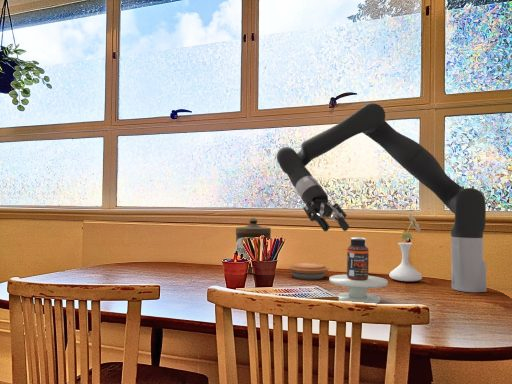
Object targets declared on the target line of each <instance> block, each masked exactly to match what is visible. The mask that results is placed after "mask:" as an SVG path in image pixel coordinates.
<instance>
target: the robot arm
mask: <svg viewBox="0 0 512 384" xmlns="http://www.w3.org/2000/svg"><path fill="white" fill-rule="evenodd" d="M359 134H363V135H365V136H367V137H368V138H369V139H371V140H372V141H374V143H376V144H378V145H379V146H380V147H382V149H384V150H385V152H386V153H387V154H388V155H390V156H391V158H392V159H394V160H395V162H396V163H398V164H399V165H400V166H401V167H402V168H403V169H404V170H406V171H407V172H408V173H409V174H410V175H411V176H412V177H414V178H415V179H416V180H418V181H419V182H420V183H421V184H423V186H425V187H426V188H428V189H429V190H430V191H431V192H433V193H434V194H435V195H436V196H437V198H438V199H439V200H440V201H441V202H442V203H443V204H444V205H445V206H446V208H448V210H449V211H450V212H452V213H453V214H454V224H453V226H452V227H451V228H450V229H451V230H450V249H451V250H450V251H451V254H450V255H451V256H450V257H451V259H450V261H451V263H450V265H451V266H450V267H451V289H452V290H455V291H458V292H459V291H460V292H466V293H487V263H486V261H484V231H485V229H486V212H487V209H486V208H487V207H486V206H487V205H486V199H485V196H484V194H483V193H482V192H481V190H478V189H476V188H473V187H467V188H465V187H462V186H461V185H460V184H458V183H457V182H455V181H454V180H453V179H452V178H451V177H449V175H448V174H447V173H446V172H445V170H444V169H443V167H442V166H441V164H440V162H439V161H438V160H437V159H436V157H435V156H434V155H433V154H431V152H429V151H428V149H426V148H425V147H423V145H422V144H420V143H418V141H415V140H414V139H411V138H409V137H407V136H406V135H403V133H400V132H399V131H397V130H396V129H395V128H393V127H392V126H391V125H390V124H389V123H388V122H387V121H386V111H385V109H384V108H383V107H382V106H381V105H379V104H378V103H367V104H364V106H362V107H361V108H359V109H358V110H357V111H355V112H354V113H353V114H351V115H350V116H349V117H347V118H346V119H344V120H342V121H341V122H339V123H337V124H336V125H334V126H332V127H330V128H328V129H326V130H324V131H322V132H320V133H318V134H316V135H314V136H312V137H310V138H308V139H306V140H304V141H303V142H301V145H300V150H299V151H298V152H297V151H295V150H294V149H293V148H292V147H290V146H283V147H280V148H279V150H277V152H276V161H277V163H278V165H279V167H280V169H281V170H282V171H283V173H284V174H286V175H287V177H288V178H289V181H290V182H291V184H292V186H293V188H295V190H296V192H297V194H298V195H299V197H300V199H301V200H302V202H303V203H304V206H303V210H304V212H305V214H306V216H307V217H308V219H309V220H310V222H315V223H316V224H318V225H319V226H320V228H321V229H322V230H323V232H328V230H330V228H331V226H330V224H329V223H328V222H327V220H326V218H328V219H330V220H334V221H336V222H337V224H338V225H339V227H340V228H341V229H342V231H343V232H347V231H348V230H349V228H350V225H349V224H348V223H347V221H346V220H345V219H346V218H347V217H348V215H347V214H346V213H345V211H344V210H343V208H342V207H341V206H340V205H339V204H338V203H336V202H335V203H334V204H331V202H329V195H328V194H327V192H326V191H325V190H324V189H323V187H322V185H321V184H320V183H319V182H318V181H317V180H316V179H315V178H314V176H313V175H312V173H311V172H310V171H309V170H308V169H307V167H306V166H308V164H310V162H311V161H313V160H314V159H317V158H318V157H320V156H322V155H324V154H327V152H330V151H331V150H333V149H334V148H336V147H337V146H339V145H340V144H342V143H344V142H345V141H347V140H349V139H351V138H352V137H354V136H357V135H359Z"/></svg>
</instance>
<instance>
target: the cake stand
mask: <svg viewBox="0 0 512 384" xmlns="http://www.w3.org/2000/svg"><path fill="white" fill-rule="evenodd" d="M328 281H329V283H330V284H332V285H336V286H339V287H345V288H348V292H340V293H337V294H336V296H337V297H339V299H340V300H342V301H352V302H364V303H379V304H380V303H381V298H380V297H379V296H378V295H375V294H372V293H368V289H376V288H377V289H380V288H385V287H388V283H389V282H388V279H386V278H383V277H379V276H374V275H368V279H367V280H352V279H349V278H348V277H347V273H346V274H345V273H344V274H334V275H330V276H329V280H328ZM336 296H335V297H336Z"/></svg>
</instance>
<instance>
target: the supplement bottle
mask: <svg viewBox="0 0 512 384" xmlns="http://www.w3.org/2000/svg"><path fill="white" fill-rule="evenodd" d="M365 239H366V238H365ZM365 239H351V238H350V245H349V246H348V247H347V249H346V250H347V251H346V253H347V255H346V257H347V258H346V274H347V277H348V278H349V279H352V280H367V279H368V276H369V261H370V260H369V252H370V251H369V248H368V247H367V245H366V246H365Z"/></svg>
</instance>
